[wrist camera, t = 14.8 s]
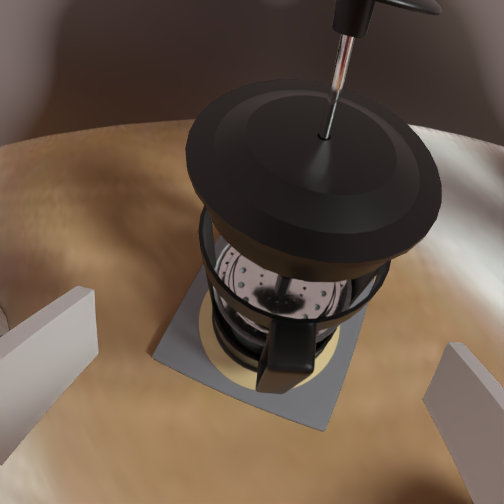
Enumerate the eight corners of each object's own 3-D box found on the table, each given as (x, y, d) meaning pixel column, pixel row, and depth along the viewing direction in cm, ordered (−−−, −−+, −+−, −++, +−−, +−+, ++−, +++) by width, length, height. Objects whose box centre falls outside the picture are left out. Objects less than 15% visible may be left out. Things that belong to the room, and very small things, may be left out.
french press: (222, 249, 28) (212, -59, 8) (332, 261, 27) (445, -15, 8) (200, 389, 22) (-31, 73, 2) (329, 401, 21) (654, 210, 2)
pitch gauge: (392, 178, 35) (420, 120, 27) (322, 431, 21) (364, 432, 14) (281, 137, 37) (289, 74, 29) (154, 359, 24) (115, 325, 16)
